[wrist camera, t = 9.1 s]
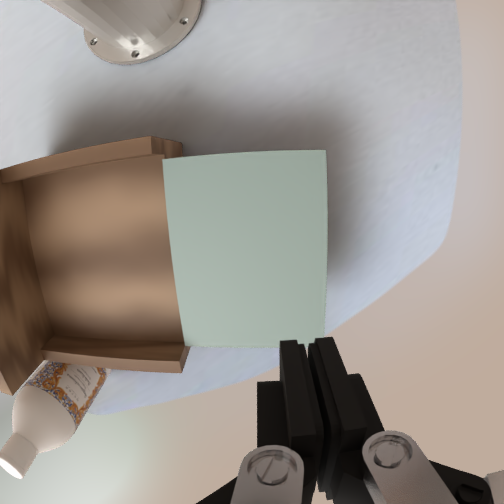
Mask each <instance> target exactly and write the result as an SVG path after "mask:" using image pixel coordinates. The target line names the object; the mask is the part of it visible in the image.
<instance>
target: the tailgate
mask: <svg viewBox="0 0 504 504" xmlns="http://www.w3.org/2000/svg"><path fill="white" fill-rule="evenodd" d="M162 161H163V175H164V188H165V199H166V210H167V220H168V229H169V238H170V247H171V255H172V263H173V271H174V278H175V286H176V293H177V299H178V306H179V312H180V319H181V325H182V331H183V336H184V342H185V346H195V347H227V348H280V347H279V344H280V340H297V341H298V344H304V346H305V347H308V345H309V343H314V340H315V338H324V329H325V310H326V285H327V236H328V211H327V162H326V150H282V151H257V152H239V153H224V154H211V155H199V156H189V157H179V158H170V159H162Z"/></svg>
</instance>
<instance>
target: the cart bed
mask: <svg viewBox="0 0 504 504" xmlns="http://www.w3.org/2000/svg"><path fill="white" fill-rule="evenodd" d="M179 157H183V155H182V143H180V142H176V141H171V140H167V139H162V138H158V137H153V136H147V137H140V138H134V139H128V140H122V141H116V142H111V143H105V144H100V145H95V146H90V147H85V148H81V149H76V150H72V151H67V152H63V153H59V154H55V155H51V156H47V157H43V158H39V159H35V160H32V161H28V162H24V163H21V164H17V165H14V166H11V167H7V168H4V169H1V170H0V390H1V392H3V393H6V394H9V395H12V396H13V395H14V393H15V392H16V391H17V390H18V389H19V388H20V386H21V385H22V384H23V383H24V382H25V381H26V380H27V379H28V377H29V376H30V375H31V374H32V373H33V372H34V370H36V368H37V367H38V366H39V365H40V364H41V363H42V362H43V361H44V360H47V361H54V362H60V363H67V364H74V365H82V366H90V367H99V368H109V369H119V370H131V371H146V372H164V373H182V371H183V368H184V365H185V362H186V359H187V356H188V353H189V350H190V347H191V346H185V342H184V336H183V331H182V325H181V319H180V312H179V306H178V299H177V293H176V286H175V278H174V271H173V263H172V255H171V247H170V238H169V229H168V220H167V210H166V199H165V188H164V175H163V161H162V159H170V158H179Z"/></svg>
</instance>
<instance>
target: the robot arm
mask: <svg viewBox="0 0 504 504" xmlns="http://www.w3.org/2000/svg"><path fill="white" fill-rule="evenodd" d="M41 1H42V2H44V3H46V4H47V5H49V6H51V7H52V8H54V9H55V10H57V11H59V12H60V13H62V14H63V15H65V16H66V17H68V18H69V19H71V20H72V21H74V22H76V23H77V24H79V25H80V26H82V27H83V28H84V37H85V41H86V43H87V45H88V47H89V49H90V50H91V51H92V52H93V53H94V54H95V55H96V56H98V57H99V58H101V59H103V60H105V61H107V62H109V63H114V64H119V65H131V64H137V63H142V62H145V61H148V60H151V59H154V58H156V57H158V56H160V55H162V54H164V53H166V52H167V51H168V50H170V49H171V48H173V47H174V46H176V45H177V44H178V43H179V42H180V41H181V40H182V39H183V38H184V37H185V36H186V35H187V34H188V33H189V31H190V30H191V29H192V27H193V25H194V24H195V22H196V20H197V18H198V15H199V12H200V9H201V0H41ZM184 23H187V24H185V25H184ZM137 55H139V56H138V57H137ZM279 347H280V381H265V382H257V448H256V449H254V450H253V451H251V452H249V453H248V454H247V455H246V456H245V457H244V459H243V461H242V463H241V466H240V469H239V473H238V476H237V477H236V478H234V479H233V480H231V481H230V482H229V483H227V484H226V485H224V486H223V487H221V488H220V489H218V490H217V491H215V492H214V493H212V494H210V495H209V496H207V497H206V498H204V499H203V500H201V501H199V502H198V503H196V504H311V502H312V497H313V493H314V491H315V486H316V481H317V484H318V489H319V492H325V493H326V498H327V500H331V499H333V503H334V504H504V470H502V471H498V472H495V473H490V474H487V475H486V477H485V478H481V477H479V476H476V475H473V474H470V473H467V472H463V471H459V470H457V469H454V468H451V467H448V466H445V465H441V464H439V463H436V462H433V461H430V460H428V459H427V458H426V456H425V455H424V453H423V452H422V450H421V449H420V448H419V446H418V445H417V443H416V442H415V441H414V440H413V439H412V438H411V437H410V436H408V435H407V434H405V433H402V432H398V431H385V430H384V428H383V426H382V423H381V421H380V418H379V416H378V413H377V411H376V409H375V407H374V404H373V402H372V399H371V397H370V395H369V393H368V390H367V388H366V386H365V383H364V381H363V379H362V377H361V375H360V374H349V375H348V374H347V372H346V369H345V366H344V364H343V362H342V359H341V356H340V354H339V351H338V349H337V347H336V344H335V342H334V339H333V337H324V338H315V340H314V343H309V345H308V358H307V354H306V350H305V346H304V344H298V341H297V340H280V344H279Z"/></svg>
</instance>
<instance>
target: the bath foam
mask: <svg viewBox="0 0 504 504" xmlns="http://www.w3.org/2000/svg"><path fill="white" fill-rule="evenodd" d="M111 370H112V369H109V368H99V367H90V366H82V365H74V364H67V363H60V362H54V361H47V360H46V361H45V362H44V363H43V364H42V365H41V367H40V368H39V369H38V370H37V371H36V372H35V373H34V374H33V376H32V377H31V378H30V379H29V380H28V382H26V384H25V385H24V386H23V387H22V389H21V390H20V392H19V393H18V395H17V397H16V399H15V402H14V406H13V414H12V420H13V435H12V436H11V437H10V438H9V440H8V441H7V442H6V444H5V445H4V447H3V448H2V450H1V451H0V465H1V466H2V467H3V468H4V469H5V470H6V471H8V472H9V473H10V474H11V475H13V476H15V477H17V478H19V479H22V478H23V477H24V476H25V474H26V472H27V471H28V469H29V467H30V465H31V464H32V462H33V460H34V459H35V457H36V455H37V454H38V453H42V452H46V451H50V450H53V449H55V448H58V447H60V446H62V445H63V444H65V443H66V442H67V441H68V440H69V439H70V438H71V437H72V435H73V434H74V433H75V431H76V429H77V428H78V426H79V424H80V422H81V421H82V419H83V417H84V416H85V414H86V412H87V411H88V409H89V407H90V406H91V404H92V402H93V401H94V399H95V397H96V396H97V394H98V392H99V391H100V389H101V387H102V386H103V384H104V382H105V380H106V379H107V377H108V376H109V374H110V372H111Z"/></svg>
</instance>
